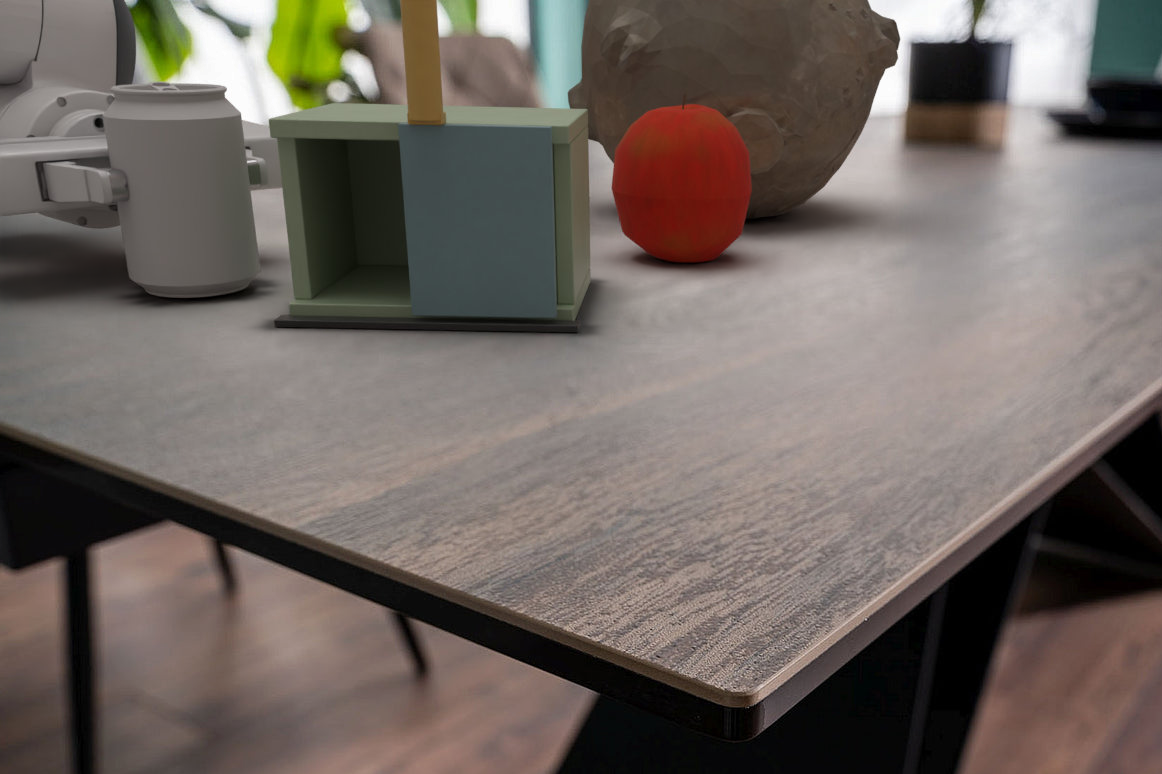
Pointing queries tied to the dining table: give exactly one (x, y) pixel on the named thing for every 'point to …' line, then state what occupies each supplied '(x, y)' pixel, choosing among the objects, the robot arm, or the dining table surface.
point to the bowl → (742, 79)
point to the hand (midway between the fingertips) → (190, 180)
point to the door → (471, 198)
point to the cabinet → (403, 216)
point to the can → (183, 189)
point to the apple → (682, 183)
